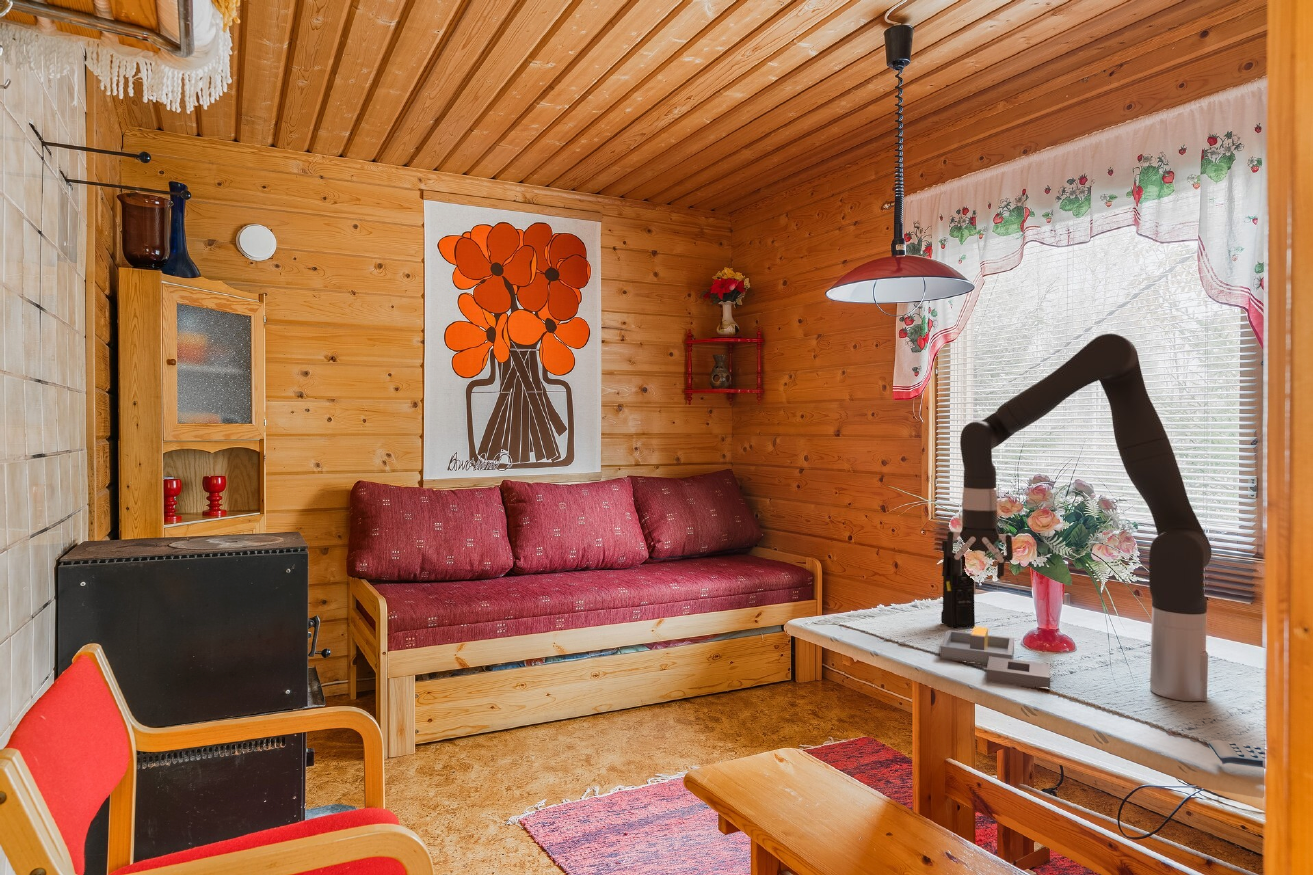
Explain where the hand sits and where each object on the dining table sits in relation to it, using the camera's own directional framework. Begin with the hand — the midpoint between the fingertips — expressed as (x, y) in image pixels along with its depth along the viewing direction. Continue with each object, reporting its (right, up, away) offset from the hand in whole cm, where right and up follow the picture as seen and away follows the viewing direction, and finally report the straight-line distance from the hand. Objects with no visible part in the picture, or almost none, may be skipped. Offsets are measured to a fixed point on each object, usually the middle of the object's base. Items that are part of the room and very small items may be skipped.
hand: (979, 576), depth 185 cm
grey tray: (0, -18, +1) cm, 18 cm away
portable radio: (+5, -18, +26) cm, 32 cm away
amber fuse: (+2, -15, +5) cm, 16 cm away
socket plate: (+2, -19, -16) cm, 25 cm away
